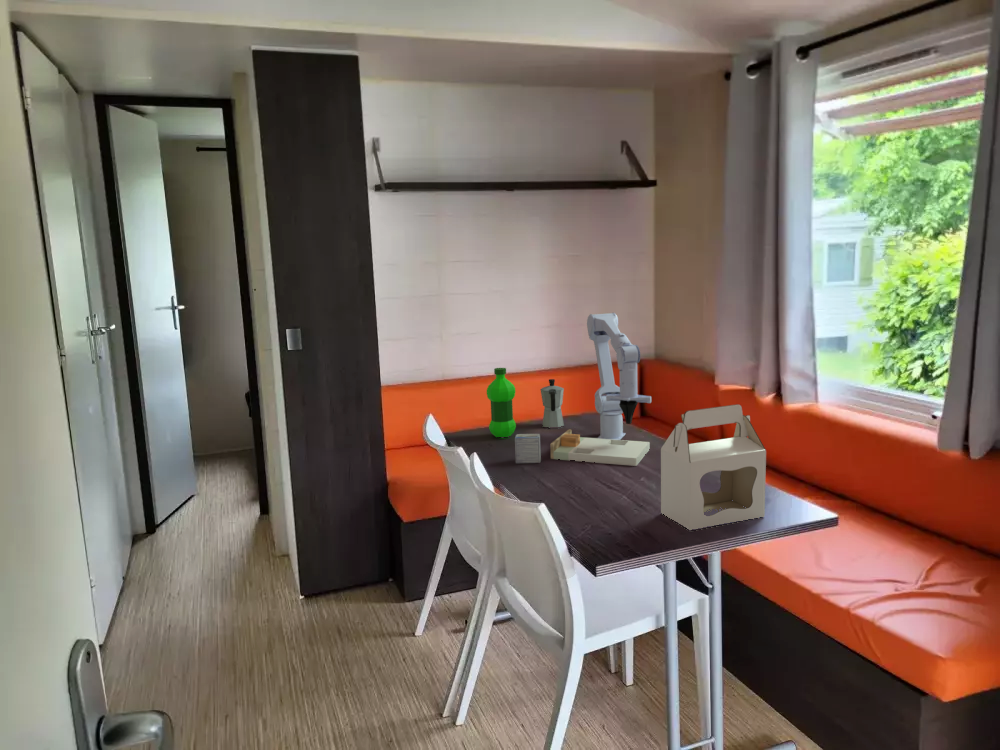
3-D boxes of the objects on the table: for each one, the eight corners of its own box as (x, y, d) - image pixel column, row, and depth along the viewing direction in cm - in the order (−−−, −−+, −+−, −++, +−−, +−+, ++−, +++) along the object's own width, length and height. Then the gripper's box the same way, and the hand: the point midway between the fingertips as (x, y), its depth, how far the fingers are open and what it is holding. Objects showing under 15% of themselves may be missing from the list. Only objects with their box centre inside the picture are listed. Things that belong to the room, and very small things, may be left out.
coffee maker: (541, 422, 292) (539, 376, 289) (563, 421, 292) (562, 375, 288) (542, 432, 277) (540, 384, 274) (566, 431, 277) (564, 383, 274)
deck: (569, 443, 261) (568, 429, 260) (649, 449, 250) (649, 434, 249) (550, 458, 244) (550, 443, 243) (636, 466, 233) (636, 450, 232)
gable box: (733, 500, 200) (734, 397, 195) (765, 517, 188) (768, 408, 183) (659, 514, 193) (659, 407, 188) (688, 532, 181) (689, 418, 176)
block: (565, 442, 253) (565, 433, 253) (579, 443, 251) (579, 434, 251) (561, 445, 249) (561, 437, 249) (575, 446, 247) (575, 438, 247)
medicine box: (541, 459, 244) (540, 433, 242) (540, 463, 240) (539, 437, 238) (516, 459, 245) (515, 433, 243) (515, 463, 240) (514, 437, 239)
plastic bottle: (487, 440, 269) (484, 371, 264) (491, 432, 279) (488, 366, 275) (515, 440, 268) (512, 371, 263) (518, 432, 278) (515, 365, 273)
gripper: (603, 384, 244) (604, 424, 247) (648, 385, 238) (648, 427, 241) (609, 380, 250) (609, 419, 253) (652, 381, 245) (652, 422, 247)
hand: (628, 423), depth 247 cm, fingers closed
